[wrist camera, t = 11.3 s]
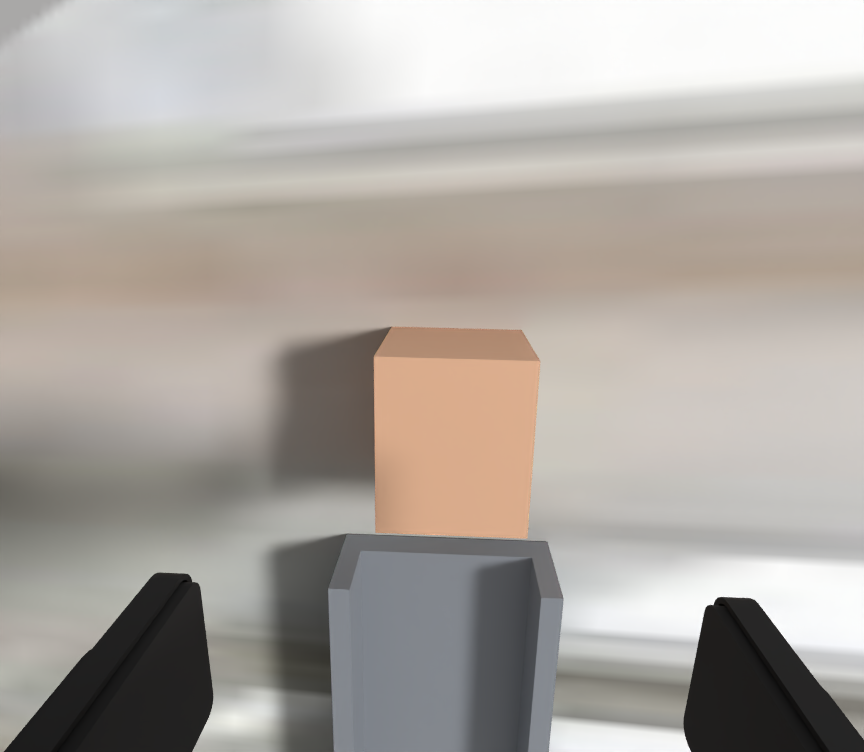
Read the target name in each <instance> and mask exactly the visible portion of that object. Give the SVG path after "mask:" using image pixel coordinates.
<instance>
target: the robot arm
mask: <svg viewBox="0 0 864 752" xmlns="http://www.w3.org/2000/svg"><path fill="white" fill-rule="evenodd" d="M212 704H213V688H212V680H211V672H210V664H209V656H208V647H207V639H206V631H205V623H204V615H203V606H202V598H201V590H200V586H199V584H198V583H196V582H192V579H191V577H190V576H189V575H188V574H178V573H156V574H154V575H153V576H152V577H151V578H150V579H149V581H148V582H147V583H146V584H145V585H144V587H143V588H142V589H141V590H140V591H139V593H138V594H137V595H136V596H135V598H134V599H133V600H132V601H131V602H130V604H129V605H128V606H127V607H126V608H125V610H124V611H123V612H122V613H121V615H120V616H119V617H118V618H117V619H116V621H115V622H114V623H113V624H112V625H111V627H110V628H109V629H108V630H107V632H106V633H105V634H104V635H103V636H102V638H101V639H100V640H99V641H98V642H97V644H96V645H95V646H94V647H93V649H91V650H89V651H88V652H87V653H86V654H85V655H84V656H83V657H82V658H81V659H80V661H79V662H78V663H77V664H76V665H75V667H74V668H73V669H72V670H71V671H70V673H69V674H68V675H67V676H66V678H65V679H64V680H63V681H62V682H61V684H60V685H59V686H58V687H57V688H56V690H55V691H54V692H53V693H52V694H51V696H50V697H49V698H48V699H47V700H46V702H45V703H44V704H43V705H42V706H41V708H40V709H39V710H38V711H37V712H36V714H35V715H34V716H33V717H32V718H31V720H30V721H29V722H28V723H27V725H26V726H25V727H24V728H23V729H22V731H21V732H20V733H19V734H18V735H17V737H16V738H15V739H14V740H13V741H12V743H11V744H10V745H9V746H8V747H7V749H6V750H5V751H4V752H192V751H193V749H194V747H195V745H196V743H197V740H198V738H199V736H200V734H201V732H202V730H203V728H204V726H205V724H206V722H207V720H208V718H209V715H210V712H211V709H212ZM684 732H685V737H686V740H687V743H688V745H689V748H690V750H691V752H864V740H863V738H862V737H861V736H860V734H859V733H858V732H857V730H856V729H855V728H854V727H853V725H852V724H851V723H850V721H849V720H848V719H847V717H846V716H845V715H844V713H843V712H842V711H841V709H840V708H839V707H838V706H837V704H836V703H835V702H834V700H833V699H832V698H831V696H830V695H829V694H828V693H827V692H826V691H825V690H824V689H823V688H822V687H821V686H820V684H819V683H818V682H817V680H816V679H815V678H814V677H813V675H812V674H811V673H810V671H809V670H808V669H807V667H806V666H805V665H804V663H803V662H802V661H801V659H800V658H799V657H798V655H797V654H796V653H795V652H794V650H793V649H792V648H791V646H790V645H789V644H788V642H787V641H786V640H785V638H784V637H783V636H782V634H781V633H780V632H779V630H778V629H777V628H776V626H775V625H774V624H773V623H772V621H771V620H770V619H769V617H768V616H767V615H766V613H765V612H764V611H763V609H762V608H761V607H760V605H759V604H758V603H757V602H756V601H755V600H753V599H751V598H731V597H719V598H717V599H716V600H715V603H714V605H708V606H707V607H706V609H705V612H704V617H703V622H702V627H701V632H700V638H699V643H698V648H697V653H696V658H695V663H694V668H693V674H692V679H691V684H690V689H689V694H688V699H687V704H686V709H685V715H684Z"/></svg>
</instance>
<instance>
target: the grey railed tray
mask: <svg viewBox="0 0 864 752" xmlns="http://www.w3.org/2000/svg"><path fill="white" fill-rule="evenodd" d="M328 603H329V630H330V658H331V685H332V713H333V741H334V752H549V741H550V731H551V721H552V711H553V701H554V691H555V681H556V670H557V660H558V650H559V640H560V630H561V620H562V609H563V595H562V592H561V588H560V585H559V581H558V578H557V574H556V571H555V567H554V564H553V560H552V557H551V553H550V550H549V546H548V543H547V542H537V541H512V540H487V539H461V538H436V537H410V536H385V535H360V534H347V535H346V538H345V541H344V544H343V547H342V549H341V552H340V555H339V558H338V561H337V564H336V567H335V570H334V573H333V576H332V579H331V581H330V584H329V587H328Z"/></svg>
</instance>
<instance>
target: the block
mask: <svg viewBox="0 0 864 752" xmlns="http://www.w3.org/2000/svg"><path fill="white" fill-rule="evenodd" d="M539 372H540V360H539V358H538V357H537V355H536V353H535V352H534V350H533V348H532V347H531V345H530V343H529V342H528V340H527V338H526V337H525V335H524V333H523V332H522V330H497V329H458V328H419V327H391V329H390V330H389V332H388V334H387V335H386V337H385V339H384V340H383V342H382V344H381V345H380V347H379V349H378V350H377V352H376V354H375V355H374V425H375V526H376V533H397V534H423V535H449V536H475V537H501V538H527V535H528V522H529V508H530V494H531V481H532V467H533V453H534V440H535V426H536V412H537V399H538V385H539Z"/></svg>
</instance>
